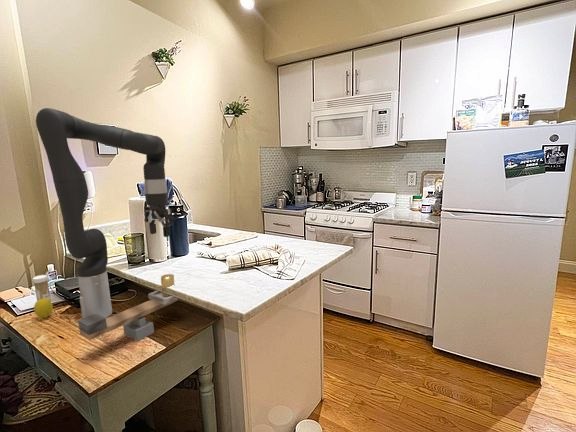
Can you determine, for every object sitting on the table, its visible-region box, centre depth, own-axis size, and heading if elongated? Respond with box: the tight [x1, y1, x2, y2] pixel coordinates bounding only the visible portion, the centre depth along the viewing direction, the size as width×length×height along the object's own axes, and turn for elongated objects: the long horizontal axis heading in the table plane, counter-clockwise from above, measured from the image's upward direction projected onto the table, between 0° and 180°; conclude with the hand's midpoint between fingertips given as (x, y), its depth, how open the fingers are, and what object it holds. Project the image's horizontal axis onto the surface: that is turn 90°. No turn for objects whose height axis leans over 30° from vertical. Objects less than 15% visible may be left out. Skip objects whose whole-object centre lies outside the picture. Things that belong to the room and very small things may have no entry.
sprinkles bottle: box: [32, 274, 52, 302], centre depth 124 cm, size 5×5×13 cm
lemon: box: [33, 298, 54, 319], centre depth 116 cm, size 6×6×8 cm
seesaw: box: [77, 289, 180, 341], centre depth 104 cm, size 33×9×4 cm, turn 146°
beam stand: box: [122, 316, 155, 342], centre depth 105 cm, size 6×8×6 cm
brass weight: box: [160, 273, 175, 297], centre depth 113 cm, size 4×4×7 cm
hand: (159, 235), depth 115 cm, fingers open, 8 cm apart
